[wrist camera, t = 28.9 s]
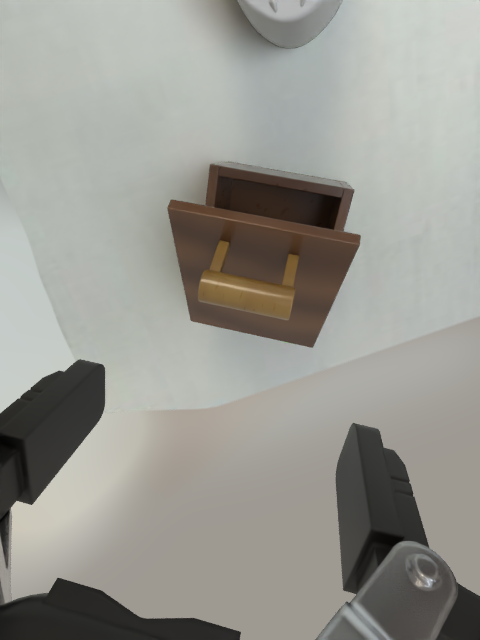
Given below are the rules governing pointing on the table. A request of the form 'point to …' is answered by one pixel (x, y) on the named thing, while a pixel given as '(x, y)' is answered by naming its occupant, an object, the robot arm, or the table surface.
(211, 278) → the lid
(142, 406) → the table surface
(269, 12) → the lumpy-topped squat cylinder
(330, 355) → the table surface
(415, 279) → the table surface
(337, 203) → the chest
